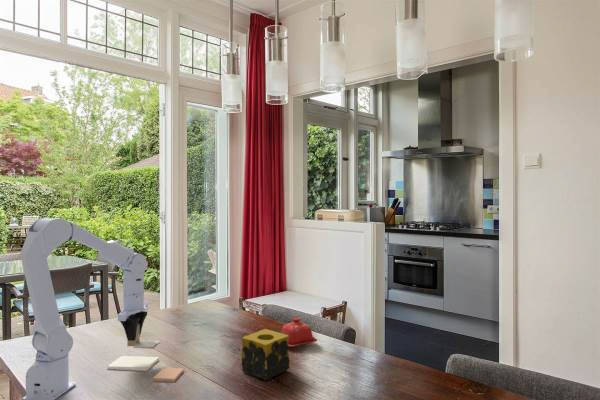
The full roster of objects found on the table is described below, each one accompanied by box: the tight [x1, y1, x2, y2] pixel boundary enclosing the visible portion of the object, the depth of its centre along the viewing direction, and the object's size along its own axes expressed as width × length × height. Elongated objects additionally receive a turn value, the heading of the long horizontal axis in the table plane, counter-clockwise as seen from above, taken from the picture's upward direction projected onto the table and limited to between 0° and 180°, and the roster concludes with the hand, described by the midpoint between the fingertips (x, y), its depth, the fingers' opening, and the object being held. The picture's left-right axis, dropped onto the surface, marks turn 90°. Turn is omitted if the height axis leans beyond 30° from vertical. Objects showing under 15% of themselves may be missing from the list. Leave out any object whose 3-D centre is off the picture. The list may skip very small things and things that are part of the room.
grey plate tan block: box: [126, 324, 162, 350], centre depth 123 cm, size 5×8×6 cm, turn 85°
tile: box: [152, 367, 185, 383], centre depth 115 cm, size 7×1×6 cm
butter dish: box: [280, 317, 318, 348], centre depth 143 cm, size 12×12×8 cm
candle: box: [241, 328, 290, 381], centre depth 119 cm, size 10×10×10 cm
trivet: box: [106, 355, 160, 372], centre depth 123 cm, size 8×12×1 cm, turn 85°
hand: (133, 338), depth 123 cm, fingers closed on grey plate tan block, 2 cm apart
